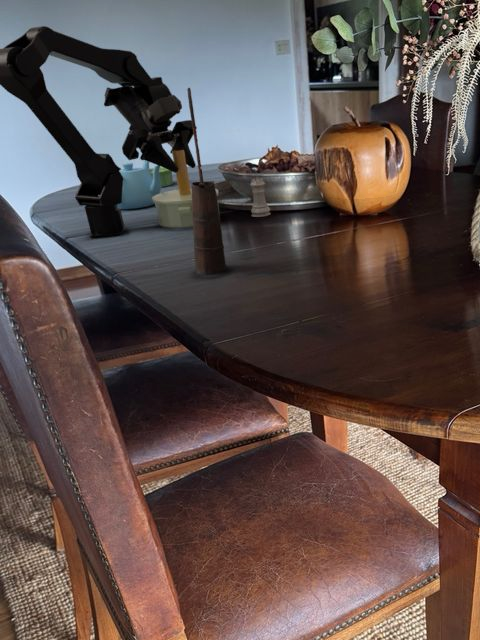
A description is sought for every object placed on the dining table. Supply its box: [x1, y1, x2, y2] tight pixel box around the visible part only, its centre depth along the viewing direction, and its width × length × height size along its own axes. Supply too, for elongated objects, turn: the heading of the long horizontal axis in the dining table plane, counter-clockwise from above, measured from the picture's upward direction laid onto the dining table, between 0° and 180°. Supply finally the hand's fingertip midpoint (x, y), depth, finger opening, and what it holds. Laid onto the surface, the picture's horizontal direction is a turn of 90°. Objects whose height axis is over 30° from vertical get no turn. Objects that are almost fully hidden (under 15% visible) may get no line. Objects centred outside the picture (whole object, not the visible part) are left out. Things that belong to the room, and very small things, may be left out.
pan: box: [154, 196, 221, 228], centre depth 144 cm, size 14×19×6 cm
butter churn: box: [186, 87, 227, 276], centre depth 102 cm, size 9×10×28 cm
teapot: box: [117, 160, 162, 210], centre depth 165 cm, size 15×15×10 cm
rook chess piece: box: [249, 178, 272, 218], centre depth 143 cm, size 4×4×8 cm
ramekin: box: [149, 166, 174, 188], centre depth 191 cm, size 9×9×4 cm
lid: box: [152, 149, 220, 204], centre depth 140 cm, size 15×15×10 cm
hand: (186, 168), depth 139 cm, fingers open, 5 cm apart
